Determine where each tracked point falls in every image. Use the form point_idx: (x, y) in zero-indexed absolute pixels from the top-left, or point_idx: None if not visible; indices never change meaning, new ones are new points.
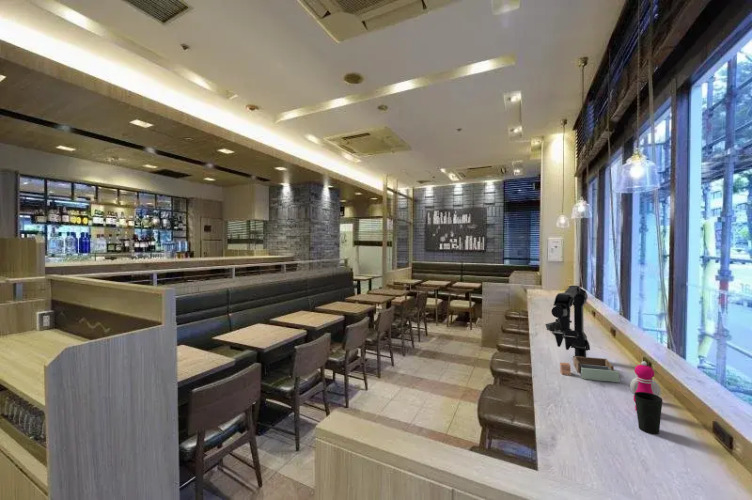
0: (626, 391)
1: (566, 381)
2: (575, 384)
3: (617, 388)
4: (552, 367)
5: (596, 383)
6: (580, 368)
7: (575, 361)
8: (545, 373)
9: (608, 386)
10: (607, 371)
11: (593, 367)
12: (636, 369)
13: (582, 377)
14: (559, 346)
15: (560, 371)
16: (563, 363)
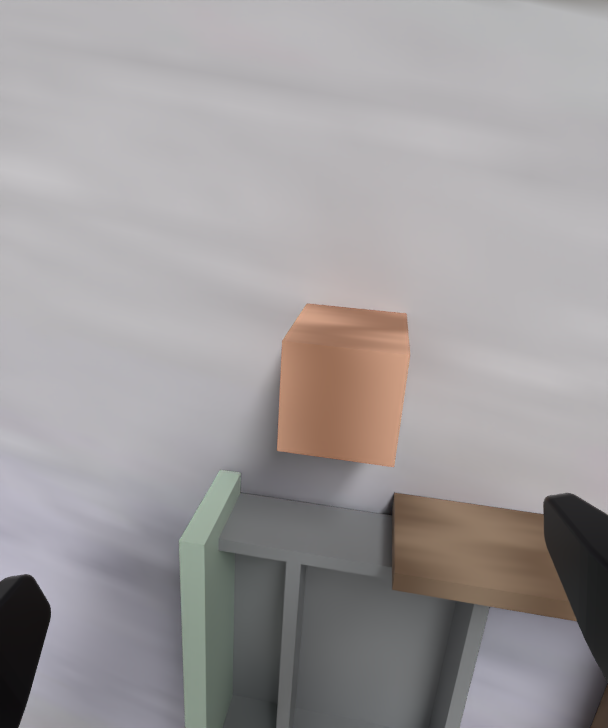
0: (61, 660)
1: (96, 296)
2: (49, 361)
3: (95, 635)
4: (573, 248)
5: (146, 541)
6: None
7: None
8: (293, 91)
9: (112, 597)
10: (188, 725)
11: (450, 676)
12: None
13: (216, 480)
14: (547, 535)
15: (403, 314)
16: (359, 387)
